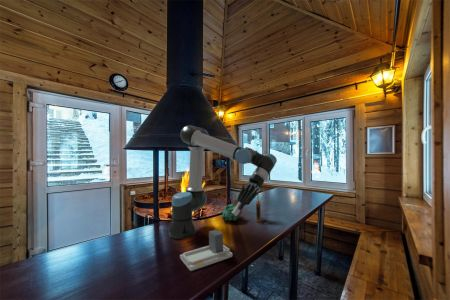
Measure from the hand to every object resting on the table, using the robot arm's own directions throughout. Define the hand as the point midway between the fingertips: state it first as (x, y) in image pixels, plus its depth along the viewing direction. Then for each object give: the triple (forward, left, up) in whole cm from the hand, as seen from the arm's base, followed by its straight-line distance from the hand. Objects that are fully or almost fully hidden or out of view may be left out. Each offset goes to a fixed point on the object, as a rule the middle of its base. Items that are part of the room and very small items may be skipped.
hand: (234, 214), depth 96 cm
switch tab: (-7, -8, -15) cm, 18 cm away
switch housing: (-10, -12, -16) cm, 23 cm away
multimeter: (+10, +44, -17) cm, 48 cm away
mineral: (-13, +42, -17) cm, 47 cm away
